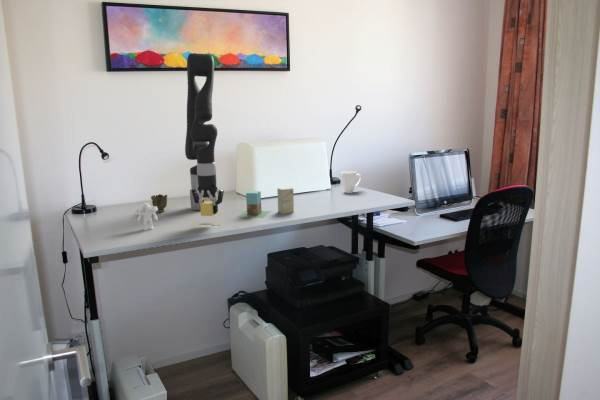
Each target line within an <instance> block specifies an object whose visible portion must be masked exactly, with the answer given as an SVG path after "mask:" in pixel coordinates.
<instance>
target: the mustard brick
mask: <svg viewBox="0 0 600 400" xmlns="http://www.w3.org/2000/svg"><path fill="white" fill-rule="evenodd" d="M200 210H201V212H200V216H204V217H213V216H215V215H216V214H213V203H212V201H205V202H203V203H201V204H200ZM200 210H199V211H200Z"/></svg>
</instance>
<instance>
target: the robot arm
mask: <svg viewBox="0 0 600 400" xmlns="http://www.w3.org/2000/svg"><path fill="white" fill-rule="evenodd" d="M214 59H215V58H214V57H213V55H212V54H206V53H194V52H193V53H189V54H188V55H187V59H186V73H187V74H186V75H187V98H186V99H187V100H186V134H185V144H184V152H185V156H186V157H185V158H187V160H189V161H193V160H194V161H196V165H194V166H191V167H190V168H189V176H190V187H191V188H190V189H189V197H190V198H189V199H190V209H191V210H194V211H199V212H200V213H201V210H200V204H201V203H203V202H205V201H212V203H213V214H215V215H216V214H218V212H219V207H218V205H220V204H222V203H223V199H224V192H225V191H224V189H221V188H220V189H219V188H218V187H217V170H216V169H217V167H216V163H215V162H216V160H215V146H216V142H217V141H216V140H217V138H218V137H217V136H218V129H217V127H216V125H214V124H213V123H208V124H207V122H209V121H211V120H212V119H213V92H214V91H213V89H214V77H215V60H214ZM195 77H203V78H205V77H206V78H205V82H204V84H203V86H202V87H201V88H199V86H198V83H197V81H196V78H195Z"/></svg>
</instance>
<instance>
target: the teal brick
mask: <svg viewBox="0 0 600 400" xmlns="http://www.w3.org/2000/svg"><path fill="white" fill-rule="evenodd" d="M261 193H262V191H261V190H249V191H247V192H246V193H245V195H246V196H245V197H246V205H247V204H256V205H257V204H259V203H260V202H261V203H262V196H261Z"/></svg>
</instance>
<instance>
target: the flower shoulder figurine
mask: <svg viewBox="0 0 600 400" xmlns="http://www.w3.org/2000/svg"><path fill="white" fill-rule="evenodd" d="M152 201H153V200H149V201H148V202H144V203H143V204H142V206H141V207H136V208H135V210H134V211H135V215H136V214H138V217H137V223H139V222H140V221H142V219H141V218H143V231H147V230H154V225H153V220H155V221H156V222H157V221H158V219H159V218H158V216H157V213H158V212H157V211H158V208H157V206H154V207H153V206H152V205H150V204H151V203H152ZM152 216H153V218H152Z"/></svg>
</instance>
